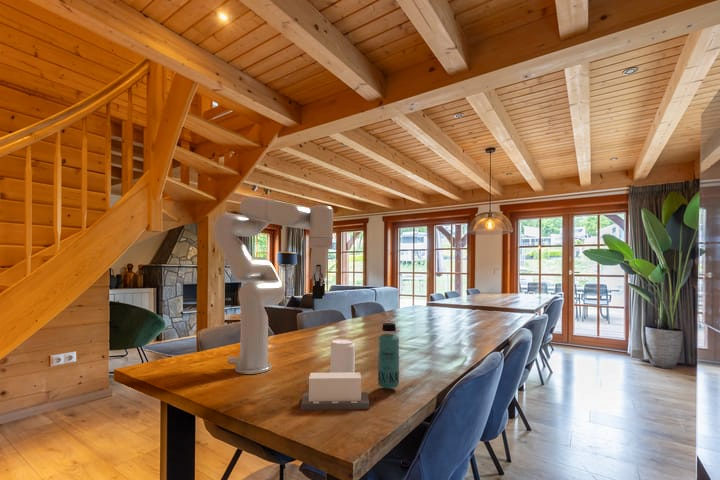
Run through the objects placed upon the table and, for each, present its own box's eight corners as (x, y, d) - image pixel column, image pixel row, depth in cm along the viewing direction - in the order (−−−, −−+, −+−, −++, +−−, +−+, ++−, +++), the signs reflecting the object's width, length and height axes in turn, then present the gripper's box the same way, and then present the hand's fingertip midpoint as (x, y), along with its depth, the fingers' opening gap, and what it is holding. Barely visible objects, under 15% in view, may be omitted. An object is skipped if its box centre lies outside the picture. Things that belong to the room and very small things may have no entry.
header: (300, 409, 92) (300, 388, 93) (303, 398, 100) (304, 378, 101) (369, 408, 93) (369, 387, 94) (367, 397, 101) (367, 377, 102)
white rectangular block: (308, 401, 94) (309, 378, 94) (310, 394, 99) (310, 372, 99) (361, 400, 95) (361, 378, 95) (360, 394, 100) (360, 372, 100)
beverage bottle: (376, 386, 111) (376, 321, 112) (397, 385, 111) (397, 321, 112) (379, 394, 104) (379, 325, 105) (401, 393, 105) (401, 325, 106)
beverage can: (357, 375, 121) (358, 339, 122) (349, 382, 114) (349, 344, 114) (336, 372, 124) (336, 337, 125) (326, 379, 116) (327, 342, 117)
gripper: (311, 244, 123) (309, 294, 122) (305, 242, 106) (303, 300, 105) (333, 245, 123) (331, 294, 122) (331, 243, 106) (328, 300, 105)
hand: (318, 297), depth 114 cm, fingers open, 9 cm apart
